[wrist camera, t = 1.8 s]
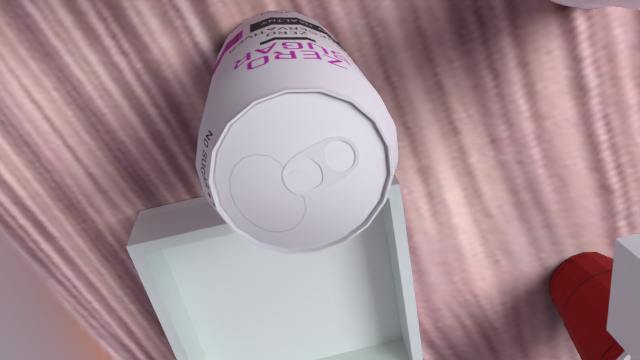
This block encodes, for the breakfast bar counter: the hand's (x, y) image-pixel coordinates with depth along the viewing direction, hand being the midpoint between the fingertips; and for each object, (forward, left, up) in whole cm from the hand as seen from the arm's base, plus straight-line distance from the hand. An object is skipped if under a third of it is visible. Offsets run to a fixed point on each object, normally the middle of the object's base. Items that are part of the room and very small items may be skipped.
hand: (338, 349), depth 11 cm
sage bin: (+16, -3, -24) cm, 29 cm away
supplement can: (0, 0, -24) cm, 24 cm away
